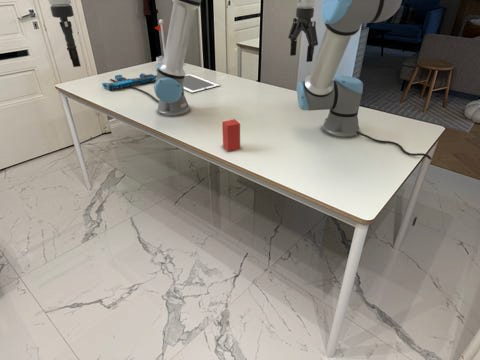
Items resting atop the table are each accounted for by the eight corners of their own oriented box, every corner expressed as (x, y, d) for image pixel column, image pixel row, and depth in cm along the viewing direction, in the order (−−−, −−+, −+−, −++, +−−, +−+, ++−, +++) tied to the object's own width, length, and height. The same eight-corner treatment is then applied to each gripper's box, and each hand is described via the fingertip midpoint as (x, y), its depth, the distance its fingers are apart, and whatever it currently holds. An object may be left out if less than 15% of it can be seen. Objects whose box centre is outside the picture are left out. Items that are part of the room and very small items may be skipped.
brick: (234, 143, 139) (234, 119, 133) (240, 148, 136) (240, 123, 130) (222, 146, 137) (222, 121, 131) (228, 151, 134) (227, 126, 128)
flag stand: (173, 62, 249) (168, 17, 233) (177, 66, 239) (172, 20, 223) (155, 64, 245) (149, 18, 229) (158, 68, 235) (152, 21, 219)
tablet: (163, 80, 212) (163, 79, 212) (190, 74, 223) (190, 73, 223) (192, 93, 192) (192, 92, 192) (220, 85, 203) (220, 85, 203)
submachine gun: (146, 68, 225) (164, 74, 209) (147, 73, 227) (165, 80, 210) (94, 78, 207) (110, 85, 190) (96, 84, 209) (112, 92, 192)
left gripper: (48, 2, 136) (63, 57, 148) (50, 9, 118) (67, 71, 129) (68, 1, 139) (82, 55, 151) (74, 8, 120) (88, 68, 132)
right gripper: (282, 5, 154) (280, 53, 166) (315, 10, 135) (309, 65, 147) (296, 4, 157) (293, 52, 168) (330, 9, 138) (323, 63, 149)
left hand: (75, 62), depth 140 cm, fingers open, 13 cm apart
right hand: (300, 58), depth 157 cm, fingers open, 13 cm apart
